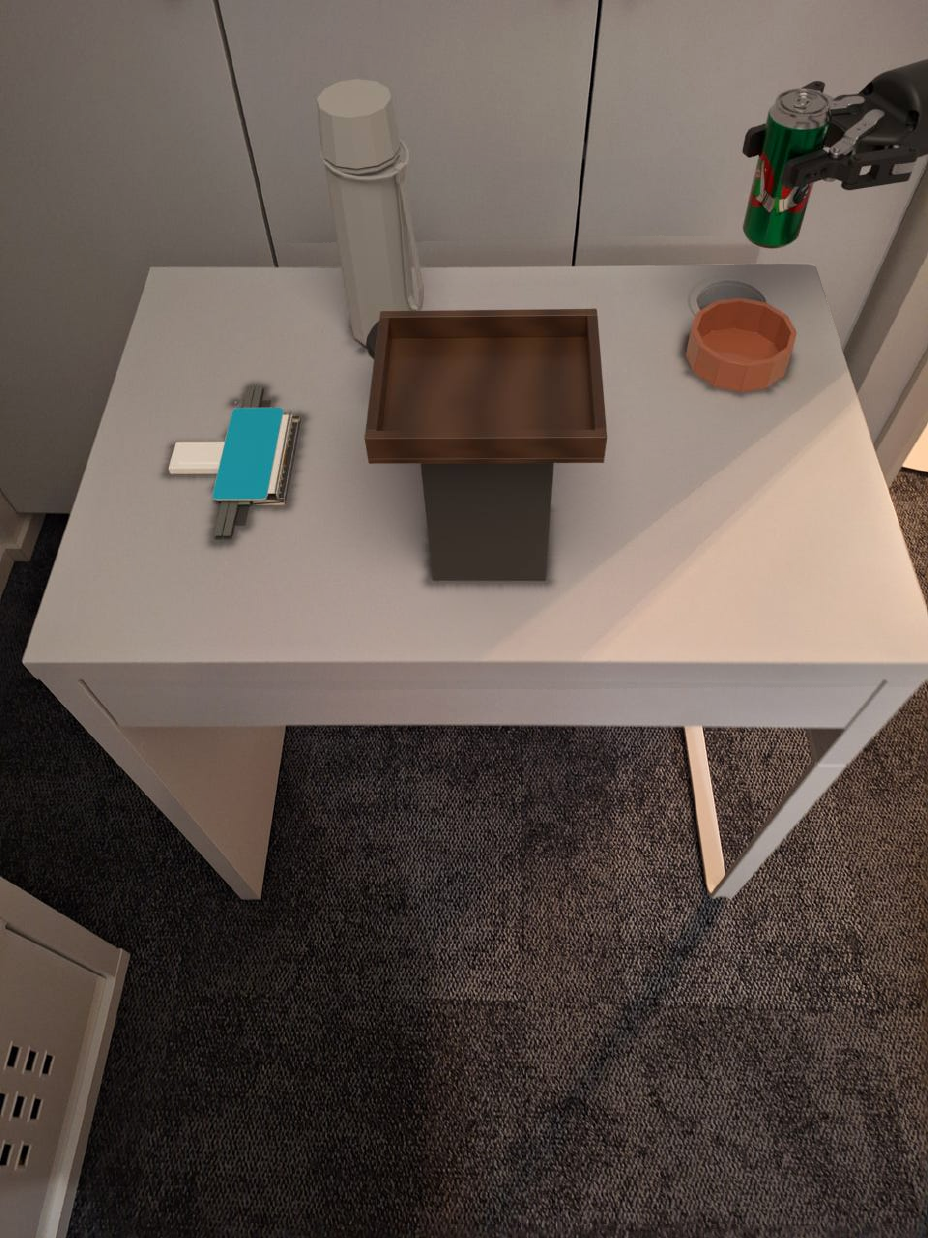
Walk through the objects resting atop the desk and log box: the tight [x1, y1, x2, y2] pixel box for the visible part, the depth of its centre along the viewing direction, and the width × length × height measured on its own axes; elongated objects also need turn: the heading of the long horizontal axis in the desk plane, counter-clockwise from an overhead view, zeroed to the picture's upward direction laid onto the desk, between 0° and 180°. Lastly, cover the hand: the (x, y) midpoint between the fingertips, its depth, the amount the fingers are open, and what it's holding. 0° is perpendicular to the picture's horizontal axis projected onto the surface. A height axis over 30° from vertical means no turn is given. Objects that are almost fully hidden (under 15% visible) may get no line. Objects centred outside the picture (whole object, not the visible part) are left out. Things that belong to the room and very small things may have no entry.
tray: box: [364, 308, 608, 465], centre depth 67 cm, size 17×14×2 cm
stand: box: [420, 463, 555, 582], centre depth 76 cm, size 10×8×18 cm
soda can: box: [742, 87, 832, 250], centre depth 79 cm, size 5×5×12 cm
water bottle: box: [316, 78, 425, 347], centre depth 89 cm, size 9×8×25 cm
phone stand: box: [168, 384, 302, 541], centre depth 90 cm, size 20×12×2 cm, turn 178°
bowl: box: [685, 297, 798, 393], centre depth 94 cm, size 10×10×4 cm
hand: (766, 159), depth 77 cm, fingers closed on soda can, 5 cm apart
